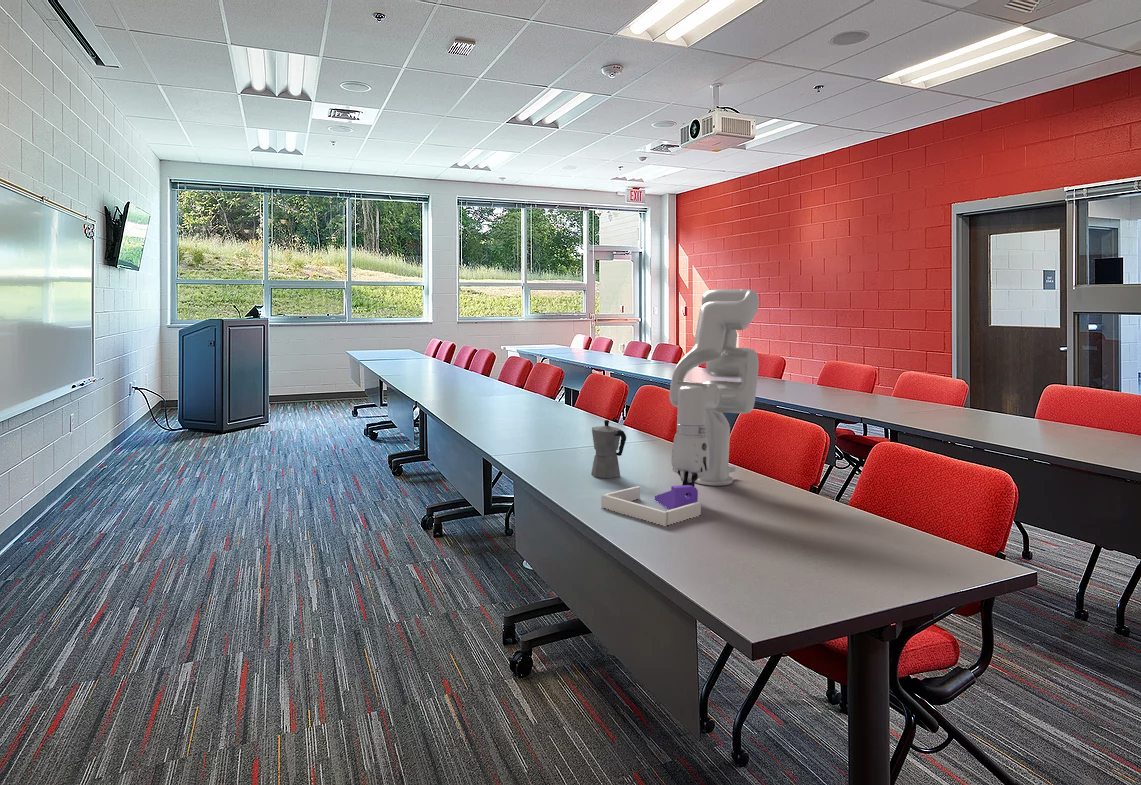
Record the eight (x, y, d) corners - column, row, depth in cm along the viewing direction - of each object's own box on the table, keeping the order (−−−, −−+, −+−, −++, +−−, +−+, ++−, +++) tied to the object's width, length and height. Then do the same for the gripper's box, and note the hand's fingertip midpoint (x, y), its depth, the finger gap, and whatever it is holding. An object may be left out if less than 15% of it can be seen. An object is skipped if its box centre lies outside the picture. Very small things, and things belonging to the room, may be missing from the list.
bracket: (697, 511, 188) (698, 486, 187) (673, 513, 186) (674, 488, 185) (676, 499, 199) (677, 476, 198) (654, 501, 197) (655, 477, 196)
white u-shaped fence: (637, 498, 199) (637, 486, 198) (700, 515, 183) (700, 502, 183) (601, 507, 189) (601, 494, 189) (664, 526, 173) (665, 512, 173)
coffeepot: (581, 473, 228) (582, 418, 226) (602, 469, 234) (603, 416, 232) (613, 482, 216) (614, 425, 214) (635, 478, 222) (636, 422, 220)
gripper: (721, 432, 192) (718, 498, 194) (677, 425, 203) (675, 488, 205) (704, 435, 187) (702, 502, 189) (660, 428, 197) (658, 492, 199)
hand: (688, 495), depth 197 cm, fingers closed
